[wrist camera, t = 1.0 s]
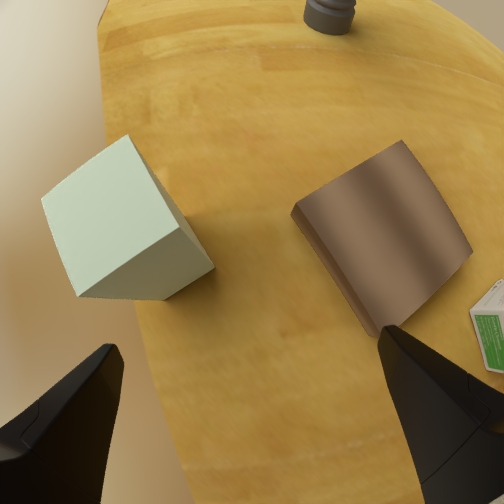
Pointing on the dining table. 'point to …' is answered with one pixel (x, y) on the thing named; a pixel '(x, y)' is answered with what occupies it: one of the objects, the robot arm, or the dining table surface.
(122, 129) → the dining table surface
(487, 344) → the skincare box
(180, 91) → the dining table surface
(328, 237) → the walnut block
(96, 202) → the sage pillar block
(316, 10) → the candle holder
